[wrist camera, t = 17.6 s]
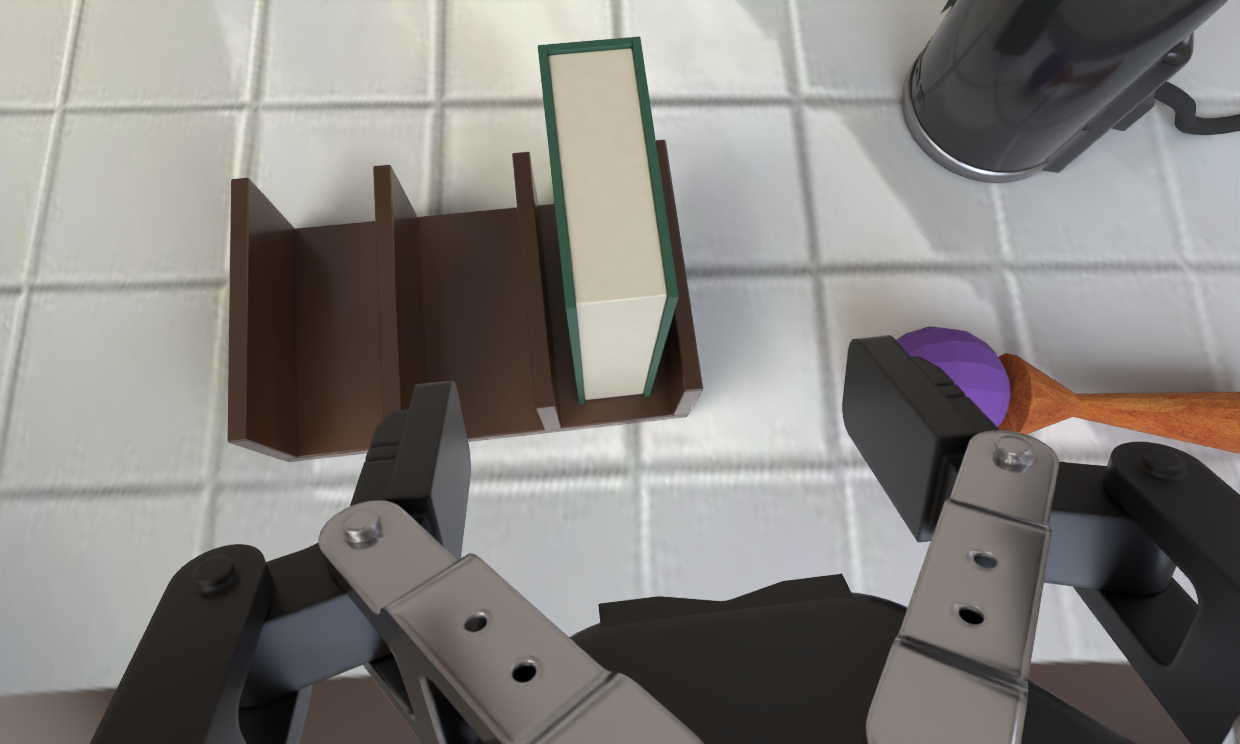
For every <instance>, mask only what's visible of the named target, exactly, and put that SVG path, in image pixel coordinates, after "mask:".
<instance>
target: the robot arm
mask: <svg viewBox="0 0 1240 744" xmlns="http://www.w3.org/2000/svg"><path fill="white" fill-rule="evenodd" d="M1227 1H1228V0H948V2H947V4H946V5H945V7H944V9H943V10H942V12H944V11H945V10H946V9H948V8H949V7H951V6H952V7H951V9H950V10H949V12H948V13H947V15H946V17H945V18H944V20H943V21H942V23H941V25H940V26H939V28H938V29H937V31H936V32H935V34H934V36H932V38H931V40H930V41H929V42H928V44H927V45H926V47H925V48H924V50H923V51H922V52H921V53H920V55H919V56H918V58H917V59H916V61H915V63H914V64H913V66H912V67H911V69H910V71H909V73H908V75H907V77H906V80H905V83H904V88H903V96H902V100H903V111H904V115H905V119H906V122H907V125H908V127H909V129H910V131H911V133H912V135H913V137H914V138H915V140H916V141H917V143H918V144H919V145H920V146H921V148H922V149H923V150H924V151H925V152H926V153H927V154H928V155H929V156H930V157H931V158H932V159H934V160H935V161H936V162H937V163H939V164H940V165H942V166H943V167H945V168H946V169H948V170H950V171H952V172H954V173H956V174H958V175H961V176H963V177H966V178H969V179H973V180H977V181H983V182H992V183H1003V182H1012V181H1017V180H1020V179H1024V178H1027V177H1029V176H1032V175H1034V174H1035V173H1037V172H1039V171H1041V170H1045V171H1051V172H1056V173H1058V172H1060V171H1062V170H1063V169H1064V168H1065V167H1066V166H1068V165H1069V164H1070V163H1071V162H1072V161H1074V160H1075V159H1076V158H1077V157H1078V156H1079V155H1081V154H1082V153H1083V152H1084V151H1085V150H1086V149H1088V148H1089V147H1090V146H1091V145H1092V144H1093V143H1095V142H1096V141H1097V140H1098V139H1099V138H1100V137H1102V136H1103V135H1104V134H1105V133H1106V132H1108V131H1109V130H1110V129H1111V128H1112V129H1116V130H1121V131H1125V130H1126V129H1127V128H1128V127H1130V126H1131V125H1132V124H1133V123H1135V122H1136V121H1137V120H1138V119H1139V118H1141V117H1142V116H1143V115H1144V114H1145V113H1147V112H1148V111H1149V110H1150V109H1151V108H1153V107H1154V101H1155V99H1157V100H1159V101H1161V102H1163V103H1165V104H1167V105H1168V106H1170V107H1171V108H1172V109H1174V111H1175V113H1176V114H1175V126H1176V127H1177V128H1178V129H1179V130H1180V131H1181V132H1184V133H1189V134H1200V135H1212V134H1223V133H1230V132H1235V131H1240V114H1239V115H1234V116H1228V117H1221V118H1210V119H1209V118H1199V117H1195V114H1196V104H1195V101H1194V100H1193V99H1192V98H1191V97H1190V96H1189V95H1188V94H1187V93H1185V92H1184V91H1183V90H1181V89H1180V88H1178V87H1176V86H1175V85H1173V84H1171V83H1169V82H1167V80H1168V79H1170V78H1171V77H1172V76H1173V75H1174V74H1175V73H1177V72H1178V71H1179V70H1180V69H1181V68H1182V67H1184V66H1185V65H1186V64H1187V63H1188V61H1189V60H1190V58H1191V56H1192V54H1193V45H1194V31H1195V30H1196V29H1197V28H1198V27H1199V26H1201V25H1202V24H1203V23H1204V22H1205V21H1206V20H1207V19H1208V18H1209V17H1210V16H1212V15H1213V14H1214V13H1215V12H1216V11H1217V10H1218V9H1219V8H1220V7H1221V6H1223V5H1224V4H1225V3H1226V2H1227ZM942 12H941V13H942ZM941 13H940V14H941ZM842 412H843V419H844V424H845V427H846V430H847V432H848V434H849V436H850V437H851V439H852V440H853V442H854V443H855V445H856V447H857V448H858V450H859V451H860V453H861V454H862V456H863V458H864V459H865V461H866V462H867V464H868V465H869V467H870V468H871V470H872V472H873V473H874V475H875V476H876V478H877V479H878V481H879V483H880V484H881V486H882V487H883V489H884V490H885V492H886V493H887V495H888V497H889V498H890V500H891V501H892V503H893V504H894V506H895V508H896V509H897V511H898V512H899V514H900V515H901V517H902V518H903V520H904V522H905V523H906V525H907V526H908V528H909V529H910V531H911V532H912V534H913V536H914V537H915V539H916V540H917V542H926V541H931V543H930V545H929V548H928V551H927V554H926V557H925V560H924V563H923V565H922V568H921V571H920V574H919V577H918V580H917V583H916V586H915V588H914V591H913V594H912V597H911V600H910V603H909V606H908V608H907V607H905V606H903V605H901V604H898V603H895V602H893V601H890V600H887V599H883V598H880V597H876V596H872V595H866V594H861V593H852V592H851V591H850V589H849V587H848V585H847V583H846V581H845V579H844V577H843V575H842V574H837V575H828V576H820V577H812V578H804V579H796V580H788V581H782V582H779V583H776V584H773V585H771V586H768V587H765V588H762V589H759V590H757V591H754V592H751V593H748V594H745V595H742V596H740V597H737V598H734V599H731V600H727V601H711V600H699V599H686V598H674V597H661V596H658V597H650V598H642V599H634V600H625V601H617V602H609V603H601V604H599V614H600V623H599V624H596V625H593V626H591V627H588V628H586V629H584V630H582V631H580V632H578V633H576V634H574V635H573V636H571V637H568V636H567V635H566V634H565V633H563V632H562V631H561V630H560V629H559V628H558V627H557V626H556V625H555V624H553V623H552V622H551V621H550V620H549V619H548V618H547V617H546V616H544V615H543V614H542V613H541V612H540V611H539V610H538V609H537V608H536V607H534V606H533V605H532V604H531V603H530V602H529V601H528V600H527V599H526V598H524V597H523V596H522V595H521V594H520V593H519V592H518V591H517V590H515V589H514V588H513V587H512V586H511V585H510V584H509V583H508V582H507V581H505V580H504V579H503V578H502V577H501V576H500V575H499V574H498V573H496V572H495V571H494V570H493V569H492V568H491V567H490V566H489V565H488V564H486V563H485V562H484V561H483V560H482V559H481V558H479V557H478V556H476V555H475V554H468V555H466V556H465V557H463V558H461V551H462V543H463V535H464V526H465V518H466V509H467V501H468V493H469V484H470V476H471V460H470V450H469V444H468V439H467V434H466V429H465V424H464V420H463V415H462V410H461V405H460V400H459V395H458V391H457V387H456V384H455V382H454V381H453V380H452V381H443V382H433V383H424V384H416V385H415V388H414V391H413V395H412V399H411V402H410V406H409V410H402V411H393V412H390V413H389V414H388V415H387V417H386V418H385V419H384V420H383V421H382V422H381V423H380V424H379V425H378V426H377V427H376V428H375V431H374V434H373V437H372V440H371V443H370V448H369V449H368V452H367V455H366V462H364V465H363V468H362V471H361V474H360V477H359V480H358V483H357V486H356V489H355V492H354V495H353V498H352V501H351V504H350V507H348V508H346V509H344V510H342V511H341V512H339V513H337V514H336V515H335V516H333V517H332V518H331V519H330V520H329V521H328V522H327V523H326V524H325V525H324V527H323V528H322V530H321V532H320V535H319V541H318V543H317V544H315V545H313V546H311V547H308V548H306V549H303V550H301V551H298V552H295V553H292V554H289V555H286V556H283V557H280V558H277V559H274V560H271V561H268V562H266V561H265V558H264V556H263V554H262V553H261V551H260V550H258V549H257V548H255V547H253V546H250V545H244V544H235V545H227V546H222V547H219V548H216V549H213V550H210V551H208V552H205V553H203V554H201V555H199V556H197V557H196V558H194V559H193V560H191V561H189V562H188V563H187V564H186V565H184V566H183V567H182V568H181V569H180V570H179V571H178V572H177V573H176V574H175V575H174V576H173V578H172V579H171V581H170V582H169V584H168V586H167V588H166V590H165V592H164V594H163V596H162V598H161V600H160V602H159V604H158V606H157V608H156V610H155V612H154V614H153V616H152V618H151V620H150V623H149V625H148V627H147V629H146V631H145V633H144V635H143V637H142V639H141V641H140V643H139V645H138V647H137V649H136V651H135V653H134V655H133V657H132V659H131V661H130V663H129V665H128V667H127V669H126V671H125V673H124V675H123V677H122V679H121V681H120V684H119V686H118V688H117V690H116V692H115V694H114V696H113V698H112V700H111V702H110V704H109V706H108V708H107V710H106V712H105V714H104V716H103V718H102V720H101V722H100V724H99V726H98V728H97V730H96V732H95V734H94V736H93V738H92V740H91V743H90V744H300V740H301V736H302V732H303V727H304V723H305V719H306V714H307V710H308V705H309V701H310V697H311V692H312V688H313V684H315V683H318V682H320V681H323V680H325V679H328V678H330V677H333V676H335V675H338V674H340V673H343V672H345V671H348V670H350V669H353V668H355V667H358V666H360V665H364V667H365V669H366V670H367V671H368V672H369V674H370V675H371V676H372V678H373V679H374V680H375V682H376V683H377V684H378V686H379V687H380V688H381V689H382V691H383V692H384V693H385V695H386V696H387V697H388V699H389V700H390V701H391V702H392V704H393V705H394V706H395V708H396V709H397V710H398V712H399V713H400V714H401V716H402V717H403V718H404V720H405V721H406V722H407V723H408V725H409V726H410V727H411V729H412V730H413V731H414V733H415V734H416V736H417V737H418V739H419V740H420V742H421V744H1136V743H1134V742H1133V741H1131V740H1129V739H1128V738H1126V737H1124V736H1123V735H1121V734H1119V733H1118V732H1116V731H1114V730H1113V729H1111V728H1109V727H1108V726H1106V725H1104V724H1102V723H1101V722H1099V721H1098V720H1096V719H1094V718H1093V717H1091V716H1089V715H1088V714H1086V713H1084V712H1083V711H1081V710H1079V709H1078V708H1076V707H1074V706H1073V705H1071V704H1069V703H1068V702H1066V701H1064V700H1063V699H1061V698H1059V697H1058V696H1056V695H1054V694H1052V693H1051V692H1049V691H1048V690H1046V689H1044V688H1043V687H1041V686H1039V685H1038V684H1036V683H1034V682H1033V681H1031V680H1029V679H1028V676H1029V669H1030V663H1031V657H1032V651H1033V645H1034V639H1035V633H1036V626H1037V620H1038V614H1039V608H1040V602H1041V596H1042V590H1043V583H1051V584H1059V585H1067V586H1073V587H1074V589H1075V590H1076V592H1077V593H1078V594H1079V596H1080V597H1081V598H1082V600H1083V601H1084V602H1085V604H1086V605H1087V606H1088V608H1089V609H1090V610H1091V612H1092V613H1093V614H1094V616H1095V617H1096V618H1097V620H1098V621H1099V622H1100V624H1101V625H1102V626H1103V628H1104V629H1105V630H1106V632H1107V633H1108V634H1109V636H1110V637H1111V638H1112V640H1113V641H1114V642H1115V644H1116V645H1117V646H1118V648H1119V649H1120V650H1121V651H1122V653H1123V654H1124V655H1125V657H1126V658H1127V659H1128V661H1129V662H1130V663H1131V665H1132V666H1133V667H1134V669H1135V670H1136V671H1137V673H1138V674H1139V675H1140V677H1141V678H1142V679H1143V681H1144V682H1145V683H1146V685H1147V686H1148V687H1149V689H1150V690H1151V691H1152V693H1153V694H1154V695H1155V696H1156V698H1157V699H1158V701H1159V702H1160V703H1161V705H1162V706H1163V707H1164V709H1165V710H1166V711H1167V713H1168V714H1169V715H1170V717H1171V718H1172V719H1173V721H1174V722H1175V723H1176V725H1177V726H1178V727H1179V728H1180V730H1181V731H1182V732H1183V734H1184V735H1185V737H1186V738H1187V739H1188V741H1189V742H1190V743H1191V744H1240V495H1239V494H1238V493H1237V492H1236V491H1235V490H1233V489H1232V488H1231V487H1230V486H1229V485H1228V484H1226V483H1225V482H1224V481H1223V480H1222V479H1221V478H1219V477H1218V476H1217V475H1216V474H1215V473H1213V472H1212V471H1211V470H1210V469H1209V468H1208V467H1206V466H1205V465H1204V464H1203V463H1201V462H1200V461H1199V460H1197V459H1196V458H1194V457H1193V456H1191V455H1189V454H1187V453H1185V452H1183V451H1180V450H1178V449H1175V448H1172V447H1169V446H1165V445H1161V444H1156V443H1150V442H1130V443H1125V444H1121V445H1119V446H1117V447H1116V448H1115V449H1114V450H1113V451H1112V453H1111V456H1110V459H1109V462H1108V465H1107V466H1099V465H1088V464H1077V463H1067V462H1059V460H1058V457H1057V455H1056V453H1055V452H1054V451H1053V450H1052V449H1051V448H1050V447H1049V446H1047V445H1046V444H1045V443H1043V442H1041V441H1040V440H1038V439H1036V438H1034V437H1031V436H1028V435H1026V434H1022V433H1019V432H1013V431H1006V430H1000V429H999V428H998V427H997V426H996V425H995V424H994V423H993V422H992V421H991V420H990V419H989V418H988V417H987V416H986V415H985V414H984V412H983V411H982V410H981V409H980V408H979V407H978V406H977V405H976V404H975V403H974V402H973V401H972V400H971V399H970V398H969V397H966V395H965V393H964V392H963V391H962V389H961V388H960V387H959V386H958V385H955V384H954V381H953V380H952V379H951V378H950V377H949V376H948V375H947V374H946V373H945V372H944V371H943V370H942V369H941V368H940V367H938V366H936V365H935V364H933V363H931V362H929V361H927V360H925V359H923V358H921V357H919V356H915V357H911V356H910V355H909V354H908V353H907V352H906V351H905V350H904V349H903V348H902V346H901V345H900V344H899V343H898V342H897V341H896V340H895V339H894V338H893V337H892V336H889V335H888V336H878V337H869V338H859V339H853V340H852V341H851V342H850V345H849V348H848V356H847V365H846V374H845V384H844V393H843V403H842ZM1176 566H1177V567H1178V568H1179V569H1180V570H1181V571H1182V572H1183V573H1184V574H1185V575H1186V576H1187V577H1188V579H1189V580H1190V581H1191V583H1192V584H1193V586H1194V588H1195V591H1196V593H1197V597H1198V605H1197V603H1196V602H1195V601H1194V600H1193V599H1192V598H1191V597H1190V596H1189V595H1188V594H1187V593H1186V591H1185V590H1184V589H1183V588H1182V587H1181V586H1180V585H1179V584H1178V583H1177V582H1176V581H1175V579H1174V578H1173V577H1172V576H1173V573H1174V571H1175V569H1176Z"/></svg>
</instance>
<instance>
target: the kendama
mask: <svg viewBox="0 0 1240 744" xmlns="http://www.w3.org/2000/svg"><path fill="white" fill-rule="evenodd" d="M896 341H897V342H898V343H899V344H900V345H901V346H902V348H903V349H904V350H905V351H906V352H907V353H908V354H909V355H910V356H911V357H915V356H919V357H921V358H923V359H925V360H927V361H929V362H931V363H933V364H935V365H936V366H938V367H940V368H941V369H942V370H943V371H944V372H945V373H946V374H947V375H948V376H949V377H950V378H951V379H952V380H953V381H954V384H955V385H958V386H959V387H960V388H961V389H962V391H963V392H964V393H965V395H966V397H969V398H970V399H971V400H972V401H973V402H974V403H975V404H976V405H977V406H978V407H979V408H980V409H981V410H982V411H983V412H984V414H985V415H986V416H987V417H988V418H989V419H990V420H991V421H992V422H993V423H994V424H995V425H996V426H997V427H998V428H999V429H1000V430H1006V431H1013V432H1019V433H1022V434H1028V433H1031V432H1034V431H1036V430H1039V429H1042V428H1044V427H1047V426H1049V425H1052V424H1055V423H1057V422H1060V421H1063V420H1065V419H1068V418H1071V417H1076V418H1081V419H1085V420H1090V421H1094V422H1099V423H1103V424H1108V425H1112V426H1117V427H1121V428H1126V429H1130V430H1135V431H1139V432H1144V433H1149V434H1153V435H1158V436H1162V437H1167V438H1171V439H1176V440H1180V441H1185V442H1189V443H1194V444H1198V445H1203V446H1207V447H1212V448H1217V449H1221V450H1226V451H1230V452H1235V453H1239V454H1240V392H1203V393H1103V394H1075V393H1073V392H1072V391H1070V390H1069V389H1067V388H1066V387H1064V386H1062V385H1061V384H1059V383H1058V382H1056V381H1055V380H1053V379H1052V378H1050V377H1049V376H1047V375H1046V374H1044V373H1043V372H1041V371H1039V370H1038V369H1036V368H1035V367H1033V366H1032V365H1030V364H1029V363H1027V362H1026V361H1024V360H1023V359H1021V358H1020V357H1018V356H1017V355H1012V354H1007V353H1005V354H1003V355H1001V356H999V357H998V356H997V354H996V353H995V352H994V351H993V350H992V349H991V348H990V347H989V346H988V344H987V343H985V342H983V341H982V340H980V339H978V338H977V337H975V336H973V335H972V334H970V333H968V332H967V331H961V330H955V329H946V328H937V327H926V328H923V329H920V330H916V331H913V332H910V333H906V334H905V335H903V336H901V337H900V338H898V339H897V340H896Z"/></svg>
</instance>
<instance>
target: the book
mask: <svg viewBox="0 0 1240 744" xmlns="http://www.w3.org/2000/svg"><path fill="white" fill-rule="evenodd" d="M538 53H539V62H540V72H541V81H542V90H543V100H544V109H545V118H546V128H547V137H548V146H549V156H550V165H551V174H552V184H553V193H554V202H555V212H556V221H557V230H558V240H559V249H560V258H561V268H562V277H563V286H564V296H565V305H566V313H567V320H568V328H569V335H570V342H571V350H572V357H573V364H574V372H575V379H576V386H577V394H578V401H579V404H585V400H590V399H599V398H608V397H617V396H626V395H635V394H643V395H644V397H649V396H650V393H651V390H652V386H653V383H654V379H655V376H656V373H657V369H658V366H659V362H660V359H661V355H662V352H663V349H664V345H665V342H666V338H667V335H668V331H669V328H670V325H671V321H672V318H673V314H674V311H675V307H676V304H677V300H678V297H679V296H678V289H677V282H676V276H675V269H674V262H673V255H672V249H671V242H670V235H669V228H668V222H667V215H666V208H665V201H664V194H663V188H662V181H661V174H660V167H659V161H658V154H657V147H656V140H655V134H654V127H653V120H652V113H651V107H650V100H649V93H648V86H647V80H646V73H645V66H644V59H643V53H642V46H641V39H640V37H632V38H631V37H630V38H618V39H606V40H594V41H582V42H571V43H559V44H548V45H547V46H546V45H538Z"/></svg>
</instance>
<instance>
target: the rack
mask: <svg viewBox="0 0 1240 744" xmlns="http://www.w3.org/2000/svg"><path fill="white" fill-rule="evenodd" d="M656 147H657V154H658V161H659V167H660V174H661V181H662V188H663V194H664V201H665V208H666V215H667V222H668V228H669V235H670V242H671V249H672V255H673V262H674V269H675V276H676V282H677V289H678V296H679V297H678V300H677V304H676V307H675V311H674V314H673V318H672V321H671V325H670V328H669V331H668V335H667V338H666V342H665V345H664V349H663V352H662V355H661V359H660V362H659V366H658V369H657V373H656V376H655V379H654V383H653V386H652V390H651V393H650V396H649V397H644V395H643V394H635V395H626V396H617V397H608V398H599V399H590V400H585V404H579V401H578V394H577V386H576V379H575V372H574V364H573V357H572V350H571V342H570V335H569V328H568V320H567V313H566V305H565V296H564V286H563V277H562V268H561V258H560V249H559V240H558V230H557V221H556V212H555V204H549V205H539V203H538V198H537V192H536V186H535V180H534V174H533V169H532V163H531V157H530V153H529V152H521V153H513V154H512V157H513V167H514V178H515V189H516V200H517V208H508V209H497V210H487V211H476V212H466V213H455V214H445V215H435V216H424V217H417V215H416V213H415V211H414V209H413V207H412V205H411V203H410V201H409V199H408V198H407V196H406V194H405V192H404V190H403V188H402V186H401V184H400V182H399V181H398V179H397V177H396V175H395V173H394V171H393V169H392V167H391V165H382V166H374V167H373V173H374V198H375V221H372V222H362V223H351V224H341V225H331V226H320V227H310V228H299V229H294V227H293V226H292V225H291V224H290V223H289V222H288V221H287V219H286V218H285V217H284V216H283V215H282V214H281V213H280V212H279V211H278V210H277V209H276V207H275V206H274V205H273V204H272V203H271V202H270V201H269V200H268V199H267V198H266V196H265V195H264V194H263V193H262V192H261V191H260V190H259V189H258V188H257V187H256V185H255V184H254V183H253V182H252V181H251V180H250V179H249V178H240V179H232V180H231V231H230V305H229V378H228V443H231V444H234V445H237V446H240V447H244V448H247V449H250V450H253V451H256V452H259V453H262V454H265V455H268V456H271V457H274V458H277V459H280V460H284V461H287V462H292V461H301V460H310V459H319V458H328V457H337V456H346V455H355V454H363V453H367V452H368V449H369V448H370V443H371V440H372V437H373V434H374V431H375V428H376V427H377V426H378V425H379V424H380V423H381V422H382V421H383V420H384V419H385V418H386V417H387V415H388V414H389V413H390V412H393V411H402V410H409V406H410V402H411V399H412V395H413V391H414V388H415V385H416V384H424V383H433V382H443V381H452V380H453V381H454V382H455V384H456V387H457V391H458V395H459V400H460V405H461V410H462V415H463V420H464V424H465V429H466V434H467V439H468V442H470V441H479V440H488V439H496V438H505V437H514V436H523V435H532V434H541V433H550V432H558V431H567V430H576V429H585V428H594V427H603V426H612V425H621V424H629V423H638V422H647V421H656V420H665V419H674V418H683V417H687V416H688V414H689V412H690V411H691V409H692V407H693V406H694V404H695V402H696V400H697V399H698V397H699V395H700V394H701V392H702V390H703V384H702V378H701V371H700V364H699V358H698V351H697V344H696V338H695V331H694V325H693V318H692V311H691V305H690V298H689V291H688V285H687V278H686V272H685V265H684V258H683V252H682V245H681V238H680V232H679V225H678V219H677V212H676V205H675V199H674V192H673V186H672V179H671V172H670V166H669V159H668V152H667V146H666V141H665V140H656Z"/></svg>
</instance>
